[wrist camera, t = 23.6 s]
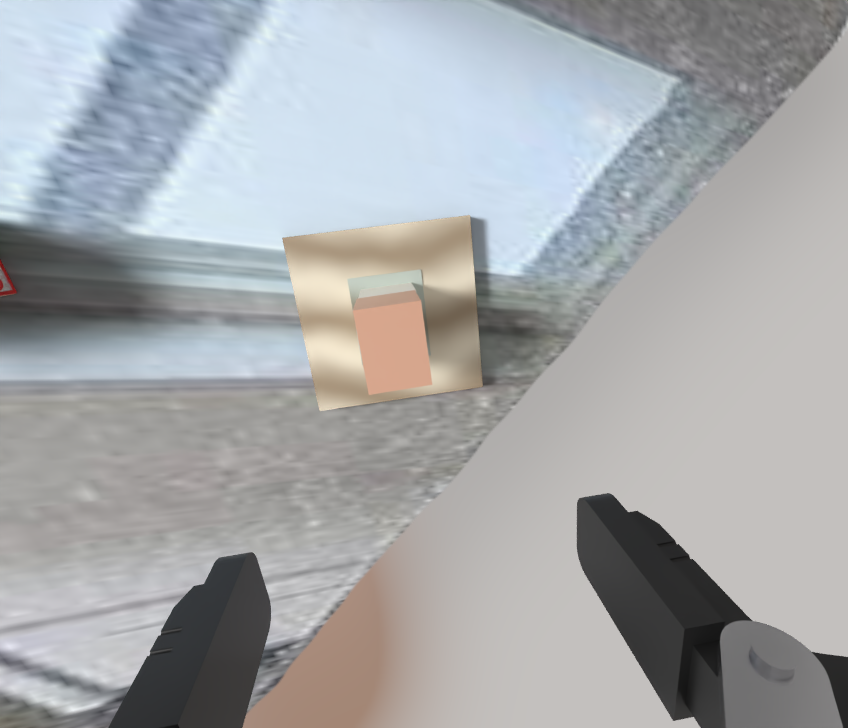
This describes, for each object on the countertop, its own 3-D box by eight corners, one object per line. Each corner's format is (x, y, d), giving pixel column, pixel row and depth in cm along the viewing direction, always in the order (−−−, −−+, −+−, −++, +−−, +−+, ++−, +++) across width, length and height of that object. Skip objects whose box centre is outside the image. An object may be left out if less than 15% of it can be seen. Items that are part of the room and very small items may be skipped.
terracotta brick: (356, 298, 31) (352, 310, 26) (414, 290, 31) (421, 300, 27) (370, 371, 33) (368, 395, 28) (424, 363, 33) (432, 384, 29)
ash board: (286, 237, 35) (281, 238, 34) (466, 215, 36) (470, 215, 35) (321, 404, 41) (319, 411, 39) (479, 381, 42) (482, 387, 40)
